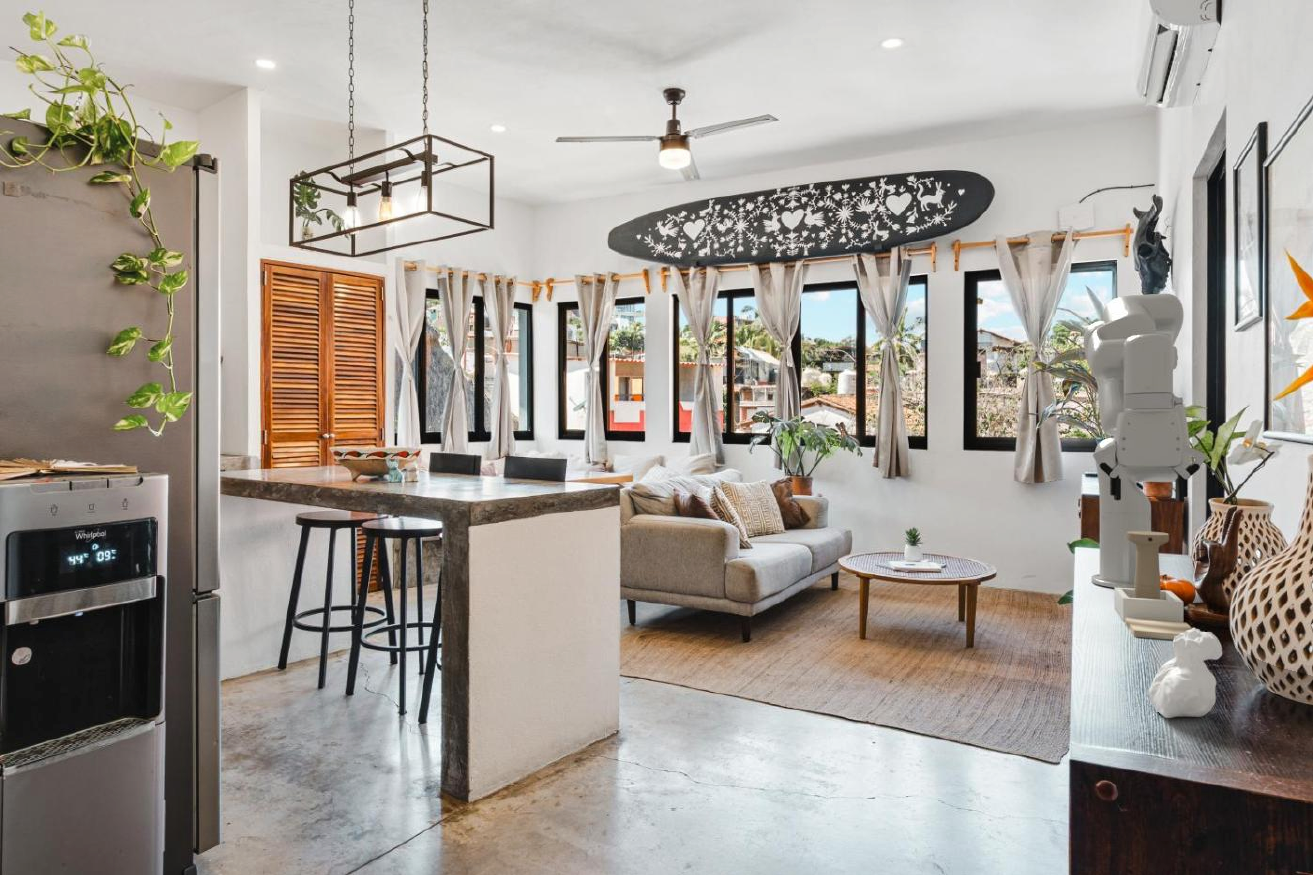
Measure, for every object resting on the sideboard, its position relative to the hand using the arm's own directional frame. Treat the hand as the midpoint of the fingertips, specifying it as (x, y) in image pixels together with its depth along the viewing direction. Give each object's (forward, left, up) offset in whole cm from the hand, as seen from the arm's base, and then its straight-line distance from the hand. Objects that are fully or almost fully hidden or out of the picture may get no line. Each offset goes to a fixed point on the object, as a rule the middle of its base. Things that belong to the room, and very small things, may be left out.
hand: (1148, 500), depth 144 cm
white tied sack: (+53, -5, -21) cm, 57 cm away
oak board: (+11, 0, -21) cm, 24 cm away
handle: (0, 0, -21) cm, 21 cm away
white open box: (0, 0, -21) cm, 21 cm away
